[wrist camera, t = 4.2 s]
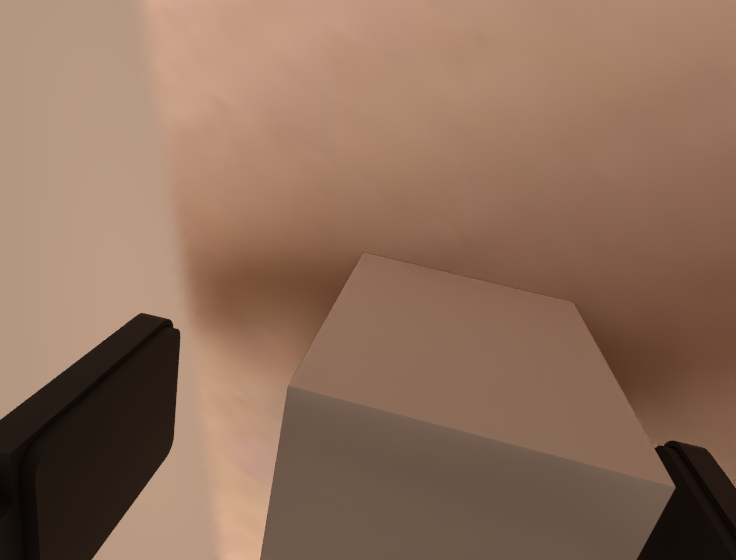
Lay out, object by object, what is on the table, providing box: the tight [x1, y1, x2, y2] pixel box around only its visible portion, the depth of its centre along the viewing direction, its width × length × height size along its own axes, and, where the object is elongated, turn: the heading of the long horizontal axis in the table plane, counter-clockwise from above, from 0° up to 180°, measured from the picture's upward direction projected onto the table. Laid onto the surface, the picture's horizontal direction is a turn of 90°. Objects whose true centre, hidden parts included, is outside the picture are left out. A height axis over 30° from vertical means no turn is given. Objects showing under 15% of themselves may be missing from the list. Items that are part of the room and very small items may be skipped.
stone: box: [260, 252, 676, 560], centre depth 10 cm, size 5×5×6 cm
